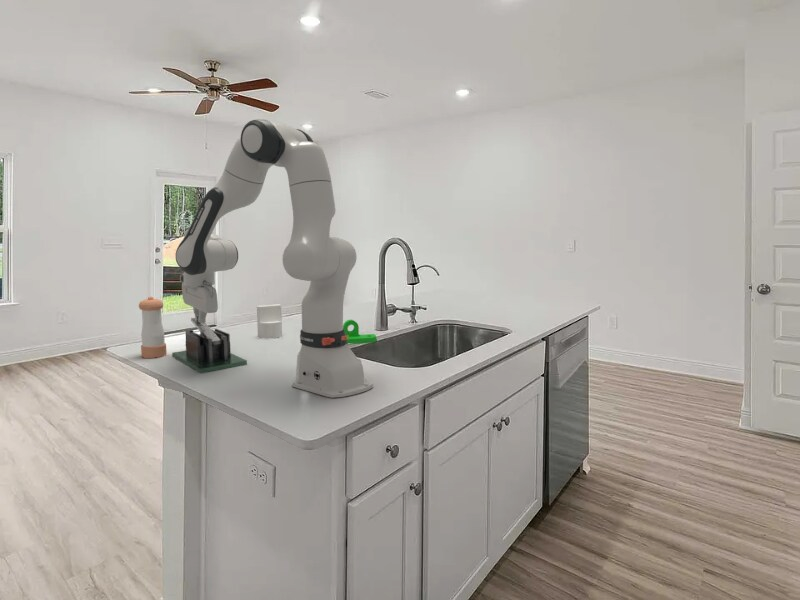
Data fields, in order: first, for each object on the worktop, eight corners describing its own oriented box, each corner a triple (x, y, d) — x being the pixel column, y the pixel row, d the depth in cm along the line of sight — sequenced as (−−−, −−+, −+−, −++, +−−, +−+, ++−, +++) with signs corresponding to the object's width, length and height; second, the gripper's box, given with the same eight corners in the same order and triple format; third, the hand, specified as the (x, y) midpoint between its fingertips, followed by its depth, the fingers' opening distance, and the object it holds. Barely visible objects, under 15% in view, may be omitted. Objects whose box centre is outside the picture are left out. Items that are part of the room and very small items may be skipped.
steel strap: (222, 345, 148) (222, 341, 147) (212, 347, 146) (212, 342, 145) (200, 320, 160) (200, 316, 159) (190, 321, 158) (191, 317, 157)
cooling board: (246, 364, 149) (245, 336, 148) (200, 373, 140) (199, 343, 138) (215, 349, 167) (214, 324, 165) (172, 356, 157) (170, 330, 156)
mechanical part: (346, 344, 177) (346, 322, 176) (343, 340, 182) (342, 319, 181) (378, 342, 180) (378, 321, 179) (374, 339, 186) (374, 318, 185)
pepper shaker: (143, 353, 160) (139, 295, 157) (167, 351, 163) (164, 294, 160) (140, 359, 154) (136, 298, 151) (165, 357, 156) (162, 297, 153)
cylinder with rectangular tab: (277, 332, 194) (276, 303, 192) (285, 337, 186) (284, 306, 185) (254, 335, 189) (253, 304, 187) (261, 339, 182) (260, 308, 180)
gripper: (222, 282, 147) (223, 327, 150) (197, 274, 162) (198, 315, 165) (201, 283, 143) (202, 329, 145) (177, 275, 158) (179, 317, 160)
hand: (200, 322), depth 155 cm, fingers closed
